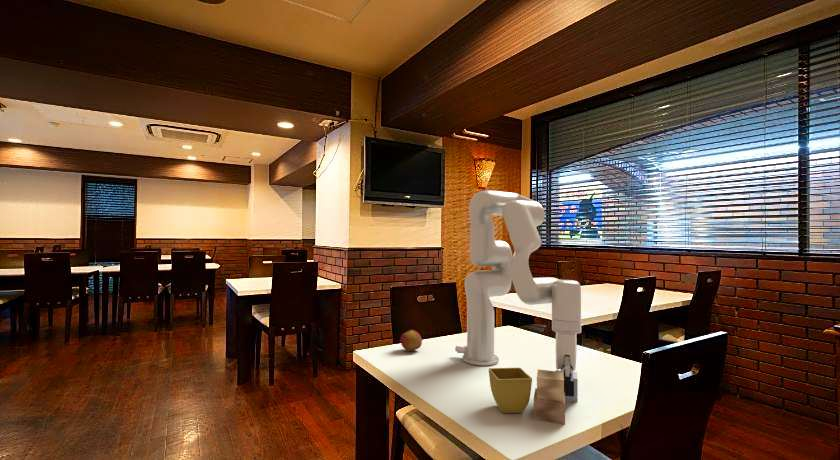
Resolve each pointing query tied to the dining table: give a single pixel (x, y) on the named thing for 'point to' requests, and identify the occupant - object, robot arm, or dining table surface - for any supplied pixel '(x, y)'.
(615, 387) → the dining table surface
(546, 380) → the oak middle block
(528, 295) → the robot arm
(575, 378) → the slate block
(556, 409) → the brown wooden block
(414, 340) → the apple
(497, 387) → the flower pot
